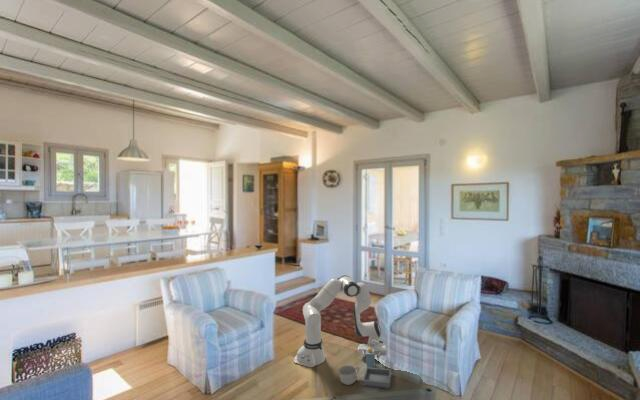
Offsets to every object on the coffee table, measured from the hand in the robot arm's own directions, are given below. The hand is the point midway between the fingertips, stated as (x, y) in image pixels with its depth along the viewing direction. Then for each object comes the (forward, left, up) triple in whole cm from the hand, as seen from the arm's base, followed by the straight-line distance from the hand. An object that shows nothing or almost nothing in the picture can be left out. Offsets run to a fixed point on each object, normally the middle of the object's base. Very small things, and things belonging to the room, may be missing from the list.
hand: (370, 356), depth 216 cm
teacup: (-11, -21, -6) cm, 24 cm away
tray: (+6, -17, -5) cm, 19 cm away
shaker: (0, -3, -6) cm, 6 cm away
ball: (0, -3, +6) cm, 7 cm away
